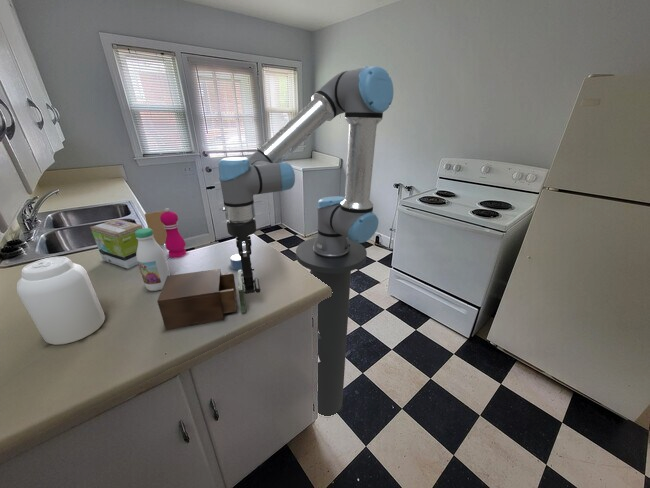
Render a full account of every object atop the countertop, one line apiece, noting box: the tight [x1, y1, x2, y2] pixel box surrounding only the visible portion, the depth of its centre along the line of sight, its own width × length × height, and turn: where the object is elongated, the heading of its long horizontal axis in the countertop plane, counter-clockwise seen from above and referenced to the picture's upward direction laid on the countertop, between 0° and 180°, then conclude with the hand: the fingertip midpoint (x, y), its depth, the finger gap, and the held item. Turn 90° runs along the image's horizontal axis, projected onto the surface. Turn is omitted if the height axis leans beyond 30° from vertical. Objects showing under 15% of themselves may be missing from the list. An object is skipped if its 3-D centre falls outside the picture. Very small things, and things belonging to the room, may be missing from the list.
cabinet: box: [156, 268, 225, 331], centre depth 77 cm, size 15×13×10 cm
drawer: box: [219, 269, 261, 315], centre depth 80 cm, size 18×11×8 cm, turn 107°
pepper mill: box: [160, 207, 187, 259], centre depth 107 cm, size 7×7×20 cm
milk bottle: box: [135, 227, 171, 292], centre depth 87 cm, size 8×8×20 cm
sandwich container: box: [144, 210, 167, 246], centre depth 123 cm, size 9×15×15 cm, turn 36°
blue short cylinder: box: [229, 253, 242, 271], centre depth 103 cm, size 6×6×4 cm
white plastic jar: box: [16, 255, 106, 346], centre depth 68 cm, size 12×12×20 cm
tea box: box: [89, 218, 143, 270], centre depth 103 cm, size 15×10×15 cm, turn 67°
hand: (250, 291), depth 82 cm, fingers closed
